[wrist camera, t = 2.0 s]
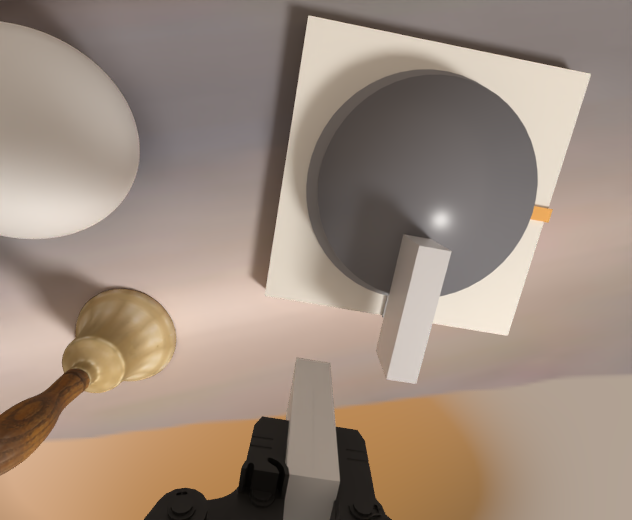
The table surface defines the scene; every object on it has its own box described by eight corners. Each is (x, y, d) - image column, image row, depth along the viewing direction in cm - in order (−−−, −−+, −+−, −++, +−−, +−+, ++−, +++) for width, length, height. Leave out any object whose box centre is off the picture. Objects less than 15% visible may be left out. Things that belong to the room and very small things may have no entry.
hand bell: (60, 303, 32) (-178, 434, 16) (155, 276, 31) (4, 384, 16) (101, 389, 34) (-77, 580, 18) (190, 365, 33) (87, 538, 18)
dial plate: (266, 291, 32) (264, 298, 30) (308, 23, 27) (308, 13, 25) (500, 329, 33) (511, 338, 31) (579, 79, 28) (596, 73, 27)
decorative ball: (29, 24, 27) (-185, -83, 15) (190, 105, 28) (107, 62, 17) (-15, 182, 29) (-228, 192, 18) (135, 248, 31) (29, 298, 19)
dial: (338, 61, 26) (347, 31, 20) (549, 103, 27) (615, 86, 21) (291, 326, 30) (287, 364, 25) (473, 355, 31) (511, 398, 25)
